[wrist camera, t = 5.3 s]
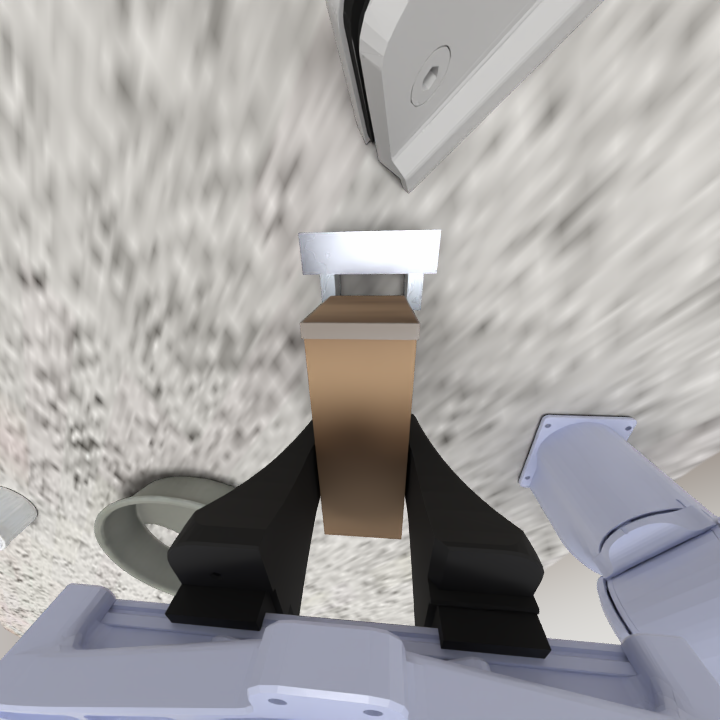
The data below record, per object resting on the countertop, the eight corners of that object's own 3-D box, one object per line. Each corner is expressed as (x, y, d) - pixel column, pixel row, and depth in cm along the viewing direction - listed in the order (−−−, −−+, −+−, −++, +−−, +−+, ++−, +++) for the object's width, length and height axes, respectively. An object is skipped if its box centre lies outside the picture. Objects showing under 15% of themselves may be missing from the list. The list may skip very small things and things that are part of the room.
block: (396, 457, 16) (402, 541, 11) (339, 454, 16) (323, 536, 12) (404, 295, 12) (420, 323, 7) (330, 295, 12) (299, 323, 8)
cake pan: (89, 465, 33) (48, 498, 29) (273, 464, 30) (256, 500, 26) (169, 569, 43) (147, 603, 39) (309, 574, 41) (301, 612, 37)
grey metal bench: (416, 301, 20) (430, 328, 14) (329, 301, 21) (309, 328, 15) (421, 231, 18) (441, 229, 12) (324, 233, 19) (298, 232, 13)
